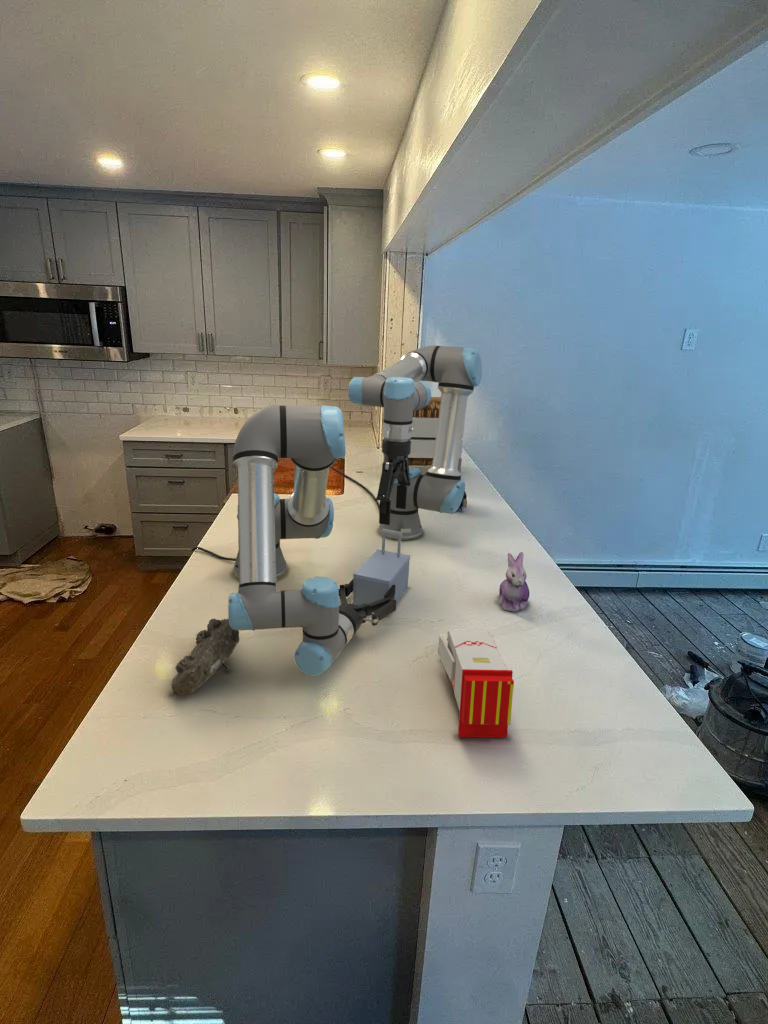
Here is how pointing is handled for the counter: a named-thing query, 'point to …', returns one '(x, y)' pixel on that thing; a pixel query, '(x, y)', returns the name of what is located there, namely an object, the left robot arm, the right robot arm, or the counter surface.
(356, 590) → the chest
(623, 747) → the counter surface
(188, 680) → the fossil
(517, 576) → the figurine
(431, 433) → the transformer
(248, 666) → the counter surface
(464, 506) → the figurine character
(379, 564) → the lid
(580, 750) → the counter surface
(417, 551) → the counter surface
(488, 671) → the toy
